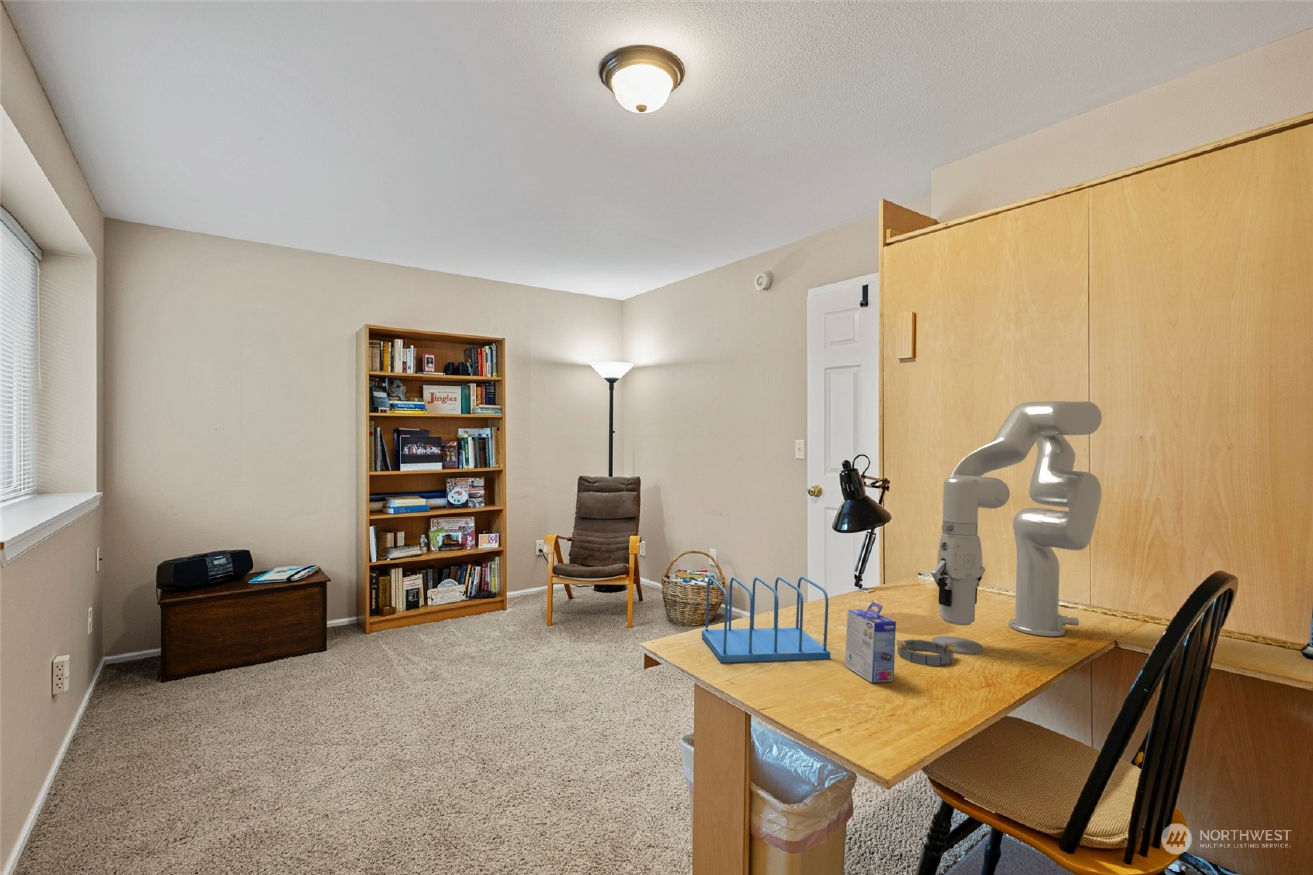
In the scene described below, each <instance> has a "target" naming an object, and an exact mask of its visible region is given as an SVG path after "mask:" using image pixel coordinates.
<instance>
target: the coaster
mask: <svg viewBox="0 0 1313 875" xmlns="http://www.w3.org/2000/svg"><path fill="white" fill-rule="evenodd" d="M931 642H936V643H940V644H942V645H945V643H951V644H952V645H954V646H955V651H954V654H961V655H978V654H982V653H983V652H984V646H983V645H982V644H981V643H979V642H977V641H974V640H972V639H967V638H964V637H963V638H962V637H957V636H950V635H949V636H948V635H947V636H945V635H942V636H935V637H932V639H931Z"/></svg>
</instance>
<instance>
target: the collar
mask: <svg viewBox="0 0 1313 875" xmlns="http://www.w3.org/2000/svg"><path fill="white" fill-rule="evenodd" d="M896 645H897V654H898V656H899V657H900V658H901V659H903V660H905V661H908V662H911V663H913V664H918V665H922V666H931V667H932V666H933V667H943V666H950V665H952V663H954V660H955V659H954V657H955V655H954V654H955V653H954V651H955V646H954V645H952V644H951V643H945V645H942V644H940V643H936V642H932V640H931V641H930V640H925V639H905V640H901V639H897V640H896ZM917 651H924V652H926V651H927V652H930V653H935V654H926V653H923V652H917Z"/></svg>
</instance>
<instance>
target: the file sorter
mask: <svg viewBox="0 0 1313 875" xmlns="http://www.w3.org/2000/svg"><path fill="white" fill-rule="evenodd" d="M802 580H804V581H805V582H807V583H808V584H811V585H812V586H814V587H815V588H817V589H819V590H820V591H822V593H823V596H824V602H825V604H824V606H825V607H824V625H823V626H824V627H823V630H824V631H823V645H822V644H821V643H820V642H819V641H817V640H816V639H815V638H813V637H812V636H811V635H810V634H808V633H807V632H806V631H805V630H803V628H804V626H803V623H804V621H803V620H804V596H803V593H802V591H801V583H802ZM734 581H735V583H737V584H739V585H740V586H741V587H742V588H743V589H745V591H746V592H747V593H748V596H749V603H750V604H749V628H732V612H733V611H732V609H733V608H732V607H733V605H732V604H733V602H732V601H733V584H734ZM757 581H758V582H760V583H762V585H764V586H765V587H767V588H768V589H769V590H771V591H772V592H773V595H774V603H773V606H774V608H773V612H774V613H773V628H770V627H768V628H765V627H764V628H762V627H760V628H755V627H754V626H755V607H756V606H755V604H756V603H755V602H756V600H755V599H756V582H757ZM779 581H781V582H782V583H784V584H786V585H788V586H789V587H791V588H792V589H794V590H796V612H795V613H796V615H795V627H779V624H778V623H779V596H778V584H779ZM711 582H712V583H713V584H715V585H716V586H717V587H718V588H719V590H721V592H722V593H723V596H724V619H723V620H724V627H723V629H718V628H716V629H714V628H713V629H709V617H710V616H709V615H710V614H709V612H710V611H709V610H710V590H711V589H710V588H711V587H710V585H711ZM728 598H729V599H728ZM705 606H706V607H705V608H706V609H705V629H702V630H701V638H703V640H704V642H706V644H707V645H708V646H709V649H710V650H711V651H712V652H713V653H714V655H715V656H716V658H717V660H719V662H720V663H726V664H727V663H743V662H744V663H745V662H746V663H747V662H772V661H773V662H776V661H777V662H778V661H779V662H780V661H806V660H808V661H809V660H830V659H831V651H830V650H829V649H827V646H828V645H827V643H828V642H827V640H828V638H827V637H828V619H829V597H828V592H827V591H826V589H825V588H824V587H822V586H821V585H819V584H817V583H816V582H815V581H812V580H810V579H808V578H806V577H805V576H800V577H799V578H798V581H797V586H796V585H794V584H793V583H791V582H790V581H788V580H786V579H785V578H783V577H782V576H778V577H776V579H775V582H774V587H773V586H772V585H770V583H767V582H766V581H765V580H763V579H762V578H760V577H758V576H756V577H754V579H753V580H752V591H751V589H750V588H749V587H748V586H747V585H746V584H744V583H743V582H742V581H740V580H739V579H738V578H737V577H735V576H733V577H731V578H730V580H729V597H728V593H727V590H726V589H725V587H723V585H721V584H720V583H719V582H718V581H717V580H715V578H714V577H709V578H708V579H707V583H706V605H705ZM706 628H708V629H706Z"/></svg>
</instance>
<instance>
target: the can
mask: <svg viewBox="0 0 1313 875" xmlns="http://www.w3.org/2000/svg"><path fill="white" fill-rule="evenodd" d="M946 575H948V574H946ZM965 576H966V578H964V579H960V580H955V579H953V582H952V585H951V587H950V590H952V605H951V607H947V606H944V605H941V604H939V617H940V618H941V620H943V621H944V622H945V623H947V624H949V625H956V626H971V625H972V623H974V622H975V619H976V617H975V616H976V604H975V593H976V580H975V578H972V577H971V576H972V574H969V575H965ZM947 580H948V579H946V578H944V581H945V582H947Z"/></svg>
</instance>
